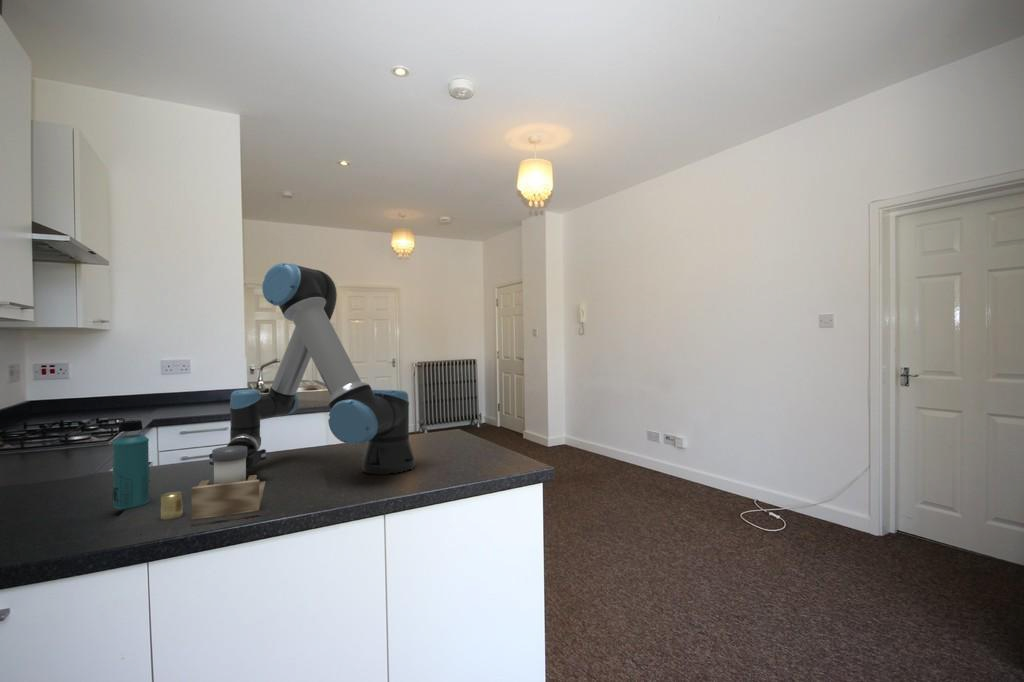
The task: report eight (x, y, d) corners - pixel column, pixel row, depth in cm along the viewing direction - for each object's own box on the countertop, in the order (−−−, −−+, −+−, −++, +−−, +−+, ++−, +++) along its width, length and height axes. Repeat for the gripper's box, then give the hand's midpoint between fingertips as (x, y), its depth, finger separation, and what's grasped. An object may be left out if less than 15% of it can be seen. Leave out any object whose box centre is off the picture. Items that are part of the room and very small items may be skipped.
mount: (265, 487, 121) (265, 457, 121) (258, 517, 100) (258, 481, 100) (210, 493, 116) (210, 463, 116) (191, 527, 95) (191, 489, 95)
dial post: (184, 519, 99) (184, 490, 99) (180, 525, 96) (180, 495, 96) (163, 522, 97) (163, 493, 97) (158, 528, 94) (158, 498, 94)
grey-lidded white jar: (248, 497, 108) (248, 444, 108) (245, 505, 102) (245, 450, 102) (214, 501, 105) (214, 447, 105) (209, 510, 99) (209, 453, 99)
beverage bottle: (157, 507, 106) (157, 418, 107) (126, 517, 100) (126, 423, 100) (135, 505, 108) (135, 417, 108) (103, 515, 102) (103, 422, 102)
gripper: (268, 462, 130) (262, 484, 109) (213, 467, 125) (195, 492, 104) (268, 435, 130) (262, 452, 109) (213, 439, 125) (195, 458, 104)
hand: (229, 471), depth 106 cm, fingers closed
